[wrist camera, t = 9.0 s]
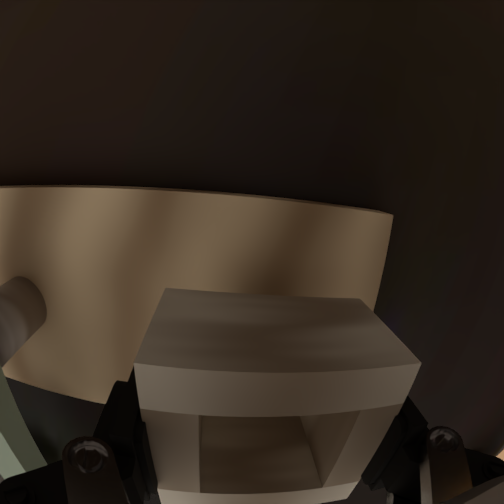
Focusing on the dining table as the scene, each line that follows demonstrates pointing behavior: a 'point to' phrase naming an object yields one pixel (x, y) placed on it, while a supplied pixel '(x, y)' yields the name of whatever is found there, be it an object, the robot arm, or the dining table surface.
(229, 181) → the dining table surface
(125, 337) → the pintle board
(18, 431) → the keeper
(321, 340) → the collar
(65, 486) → the robot arm
